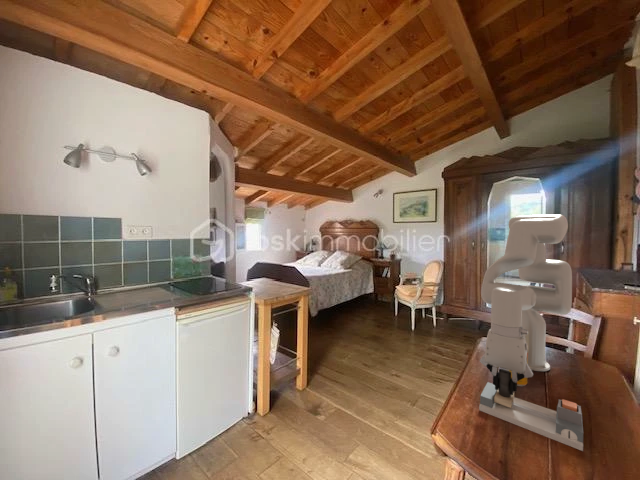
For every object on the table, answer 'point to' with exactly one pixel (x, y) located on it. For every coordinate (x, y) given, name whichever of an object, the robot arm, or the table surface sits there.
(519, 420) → the rail base
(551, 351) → the table surface
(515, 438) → the table surface
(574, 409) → the button
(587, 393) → the table surface
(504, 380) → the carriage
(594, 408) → the table surface
